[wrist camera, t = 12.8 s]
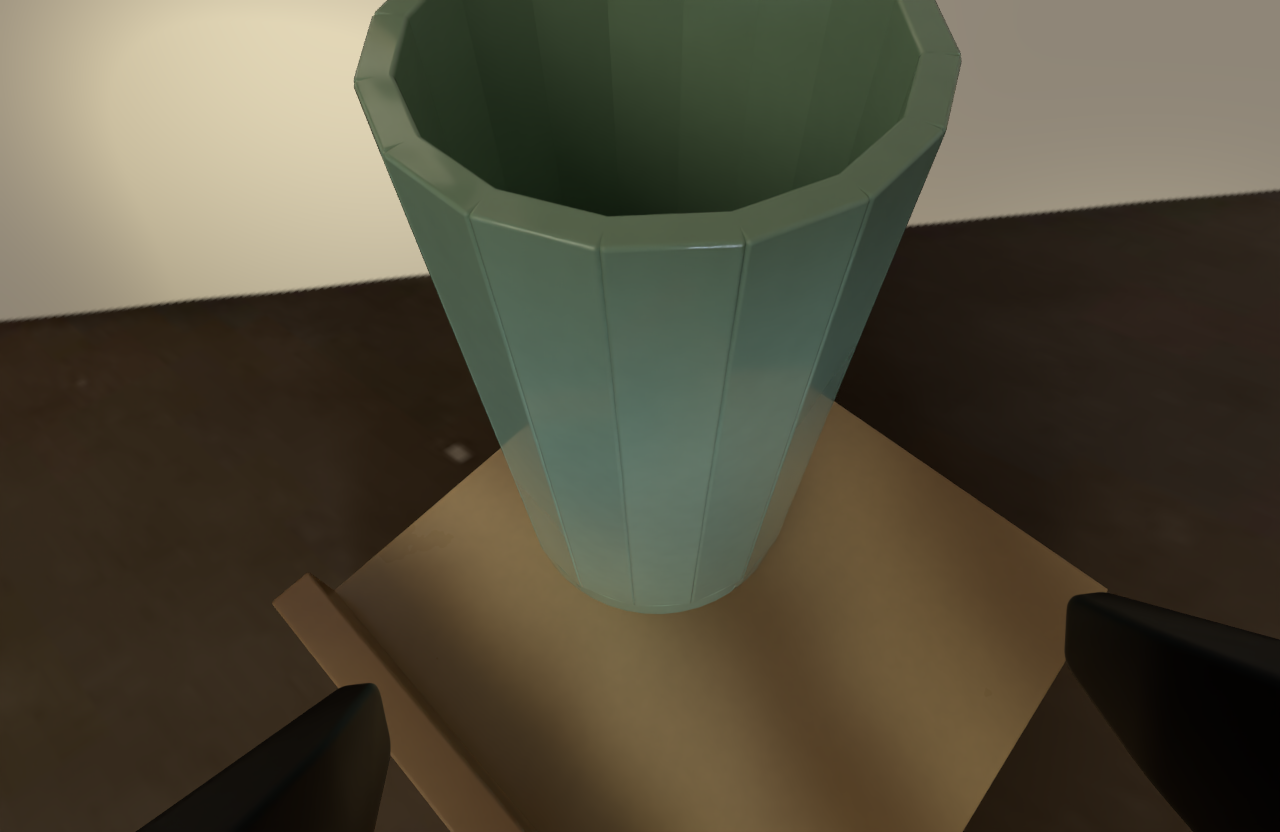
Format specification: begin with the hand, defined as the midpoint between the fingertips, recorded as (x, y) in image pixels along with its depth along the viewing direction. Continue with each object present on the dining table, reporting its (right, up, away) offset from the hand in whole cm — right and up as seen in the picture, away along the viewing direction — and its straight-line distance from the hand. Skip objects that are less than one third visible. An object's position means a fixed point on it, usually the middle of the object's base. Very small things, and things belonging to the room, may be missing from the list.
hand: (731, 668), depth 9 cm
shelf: (0, -3, +11) cm, 12 cm away
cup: (-1, +1, +10) cm, 10 cm away
